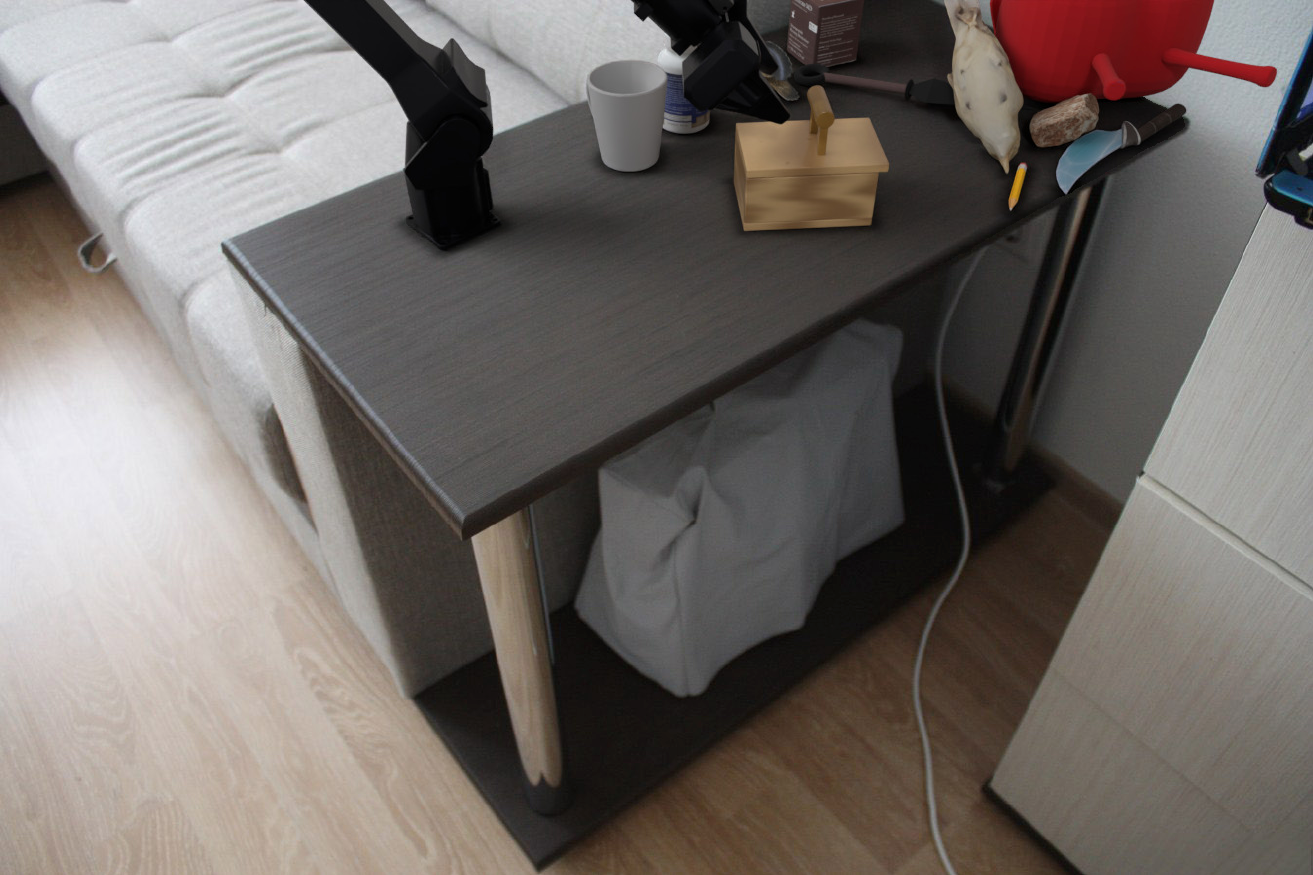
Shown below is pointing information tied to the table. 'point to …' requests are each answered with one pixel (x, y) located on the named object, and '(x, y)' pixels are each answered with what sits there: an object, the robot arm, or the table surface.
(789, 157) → the lid
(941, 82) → the kunai knife
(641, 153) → the cup
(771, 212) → the box
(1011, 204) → the pencil
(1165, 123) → the knife
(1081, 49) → the novelty television
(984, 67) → the sculpture
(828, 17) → the box
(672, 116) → the pill bottle
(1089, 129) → the stone
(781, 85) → the eagle figurine
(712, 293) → the table surface
